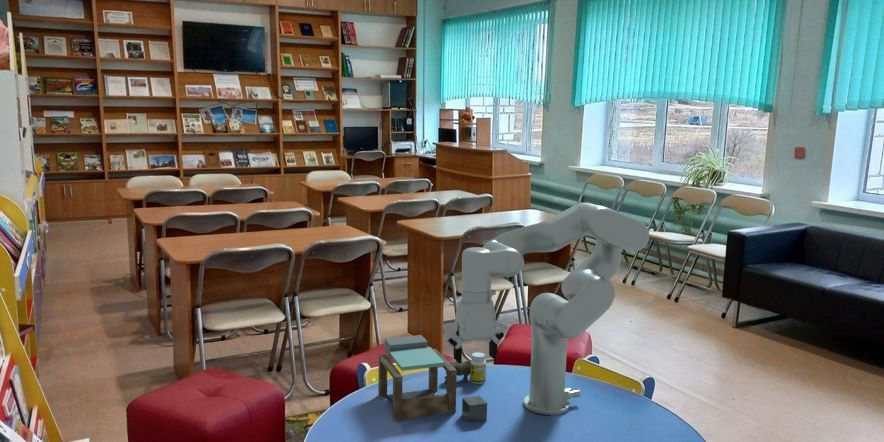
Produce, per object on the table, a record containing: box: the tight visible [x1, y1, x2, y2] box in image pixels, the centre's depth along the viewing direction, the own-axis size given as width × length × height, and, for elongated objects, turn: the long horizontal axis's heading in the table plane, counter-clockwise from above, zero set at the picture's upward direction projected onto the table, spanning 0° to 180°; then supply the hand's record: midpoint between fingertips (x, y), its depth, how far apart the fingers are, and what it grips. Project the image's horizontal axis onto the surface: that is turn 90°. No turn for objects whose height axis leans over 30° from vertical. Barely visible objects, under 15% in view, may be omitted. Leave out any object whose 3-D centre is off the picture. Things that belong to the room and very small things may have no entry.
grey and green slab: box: [384, 334, 445, 372], centre depth 191 cm, size 12×19×4 cm, turn 20°
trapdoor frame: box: [377, 348, 458, 422], centre depth 188 cm, size 17×17×12 cm
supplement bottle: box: [469, 351, 487, 385], centre depth 205 cm, size 5×5×8 cm
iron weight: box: [461, 395, 488, 424], centre depth 181 cm, size 5×5×5 cm
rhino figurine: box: [444, 359, 471, 384], centre depth 206 cm, size 4×14×6 cm, turn 109°
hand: (475, 359), depth 179 cm, fingers open, 9 cm apart
